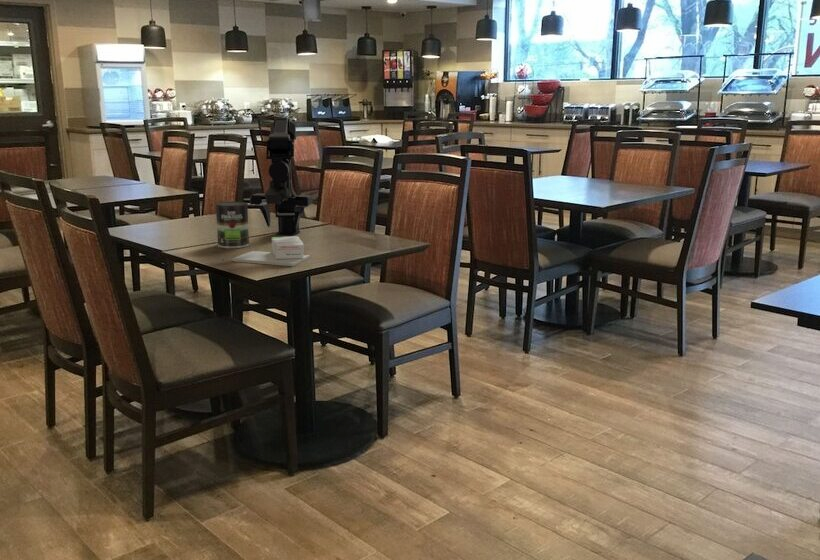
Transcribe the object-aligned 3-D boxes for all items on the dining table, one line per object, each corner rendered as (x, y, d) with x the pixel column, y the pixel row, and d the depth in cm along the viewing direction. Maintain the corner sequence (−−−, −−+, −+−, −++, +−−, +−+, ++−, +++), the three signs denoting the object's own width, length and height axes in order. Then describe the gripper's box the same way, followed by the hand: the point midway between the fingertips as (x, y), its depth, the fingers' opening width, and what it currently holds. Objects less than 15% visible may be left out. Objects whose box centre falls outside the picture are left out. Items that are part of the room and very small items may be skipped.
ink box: (271, 252, 233) (276, 261, 219) (271, 236, 232) (275, 245, 218) (299, 251, 235) (305, 260, 221) (298, 235, 234) (305, 244, 220)
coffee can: (249, 248, 242) (247, 205, 239) (217, 249, 240) (214, 206, 237) (249, 242, 252) (247, 200, 249) (218, 243, 250) (216, 201, 247)
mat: (232, 261, 223) (232, 258, 223) (252, 253, 235) (252, 250, 234) (292, 266, 218) (292, 263, 217) (310, 257, 229) (310, 255, 228)
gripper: (241, 179, 222) (244, 230, 226) (301, 181, 219) (303, 232, 223) (255, 175, 233) (257, 224, 237) (312, 177, 230) (313, 226, 234)
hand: (282, 227), depth 232 cm, fingers open, 8 cm apart
